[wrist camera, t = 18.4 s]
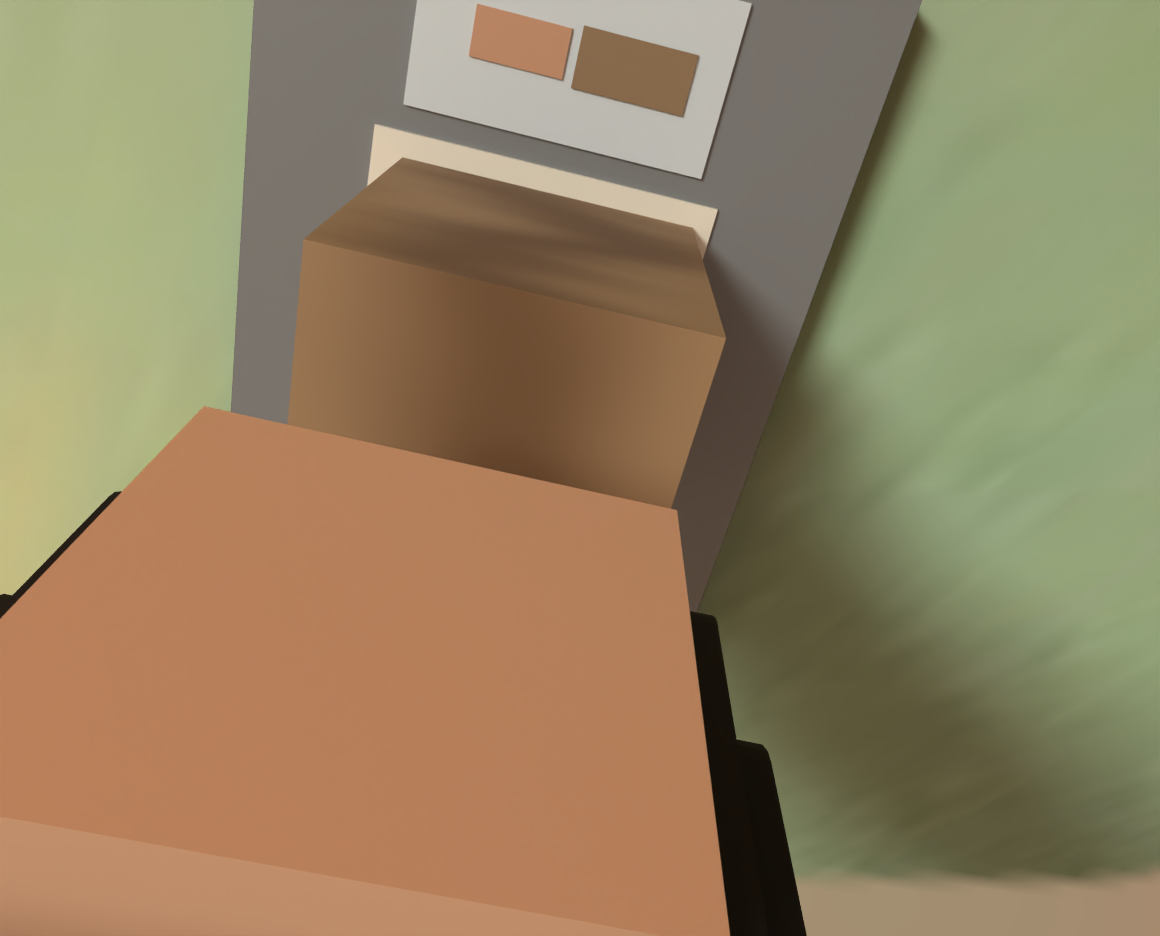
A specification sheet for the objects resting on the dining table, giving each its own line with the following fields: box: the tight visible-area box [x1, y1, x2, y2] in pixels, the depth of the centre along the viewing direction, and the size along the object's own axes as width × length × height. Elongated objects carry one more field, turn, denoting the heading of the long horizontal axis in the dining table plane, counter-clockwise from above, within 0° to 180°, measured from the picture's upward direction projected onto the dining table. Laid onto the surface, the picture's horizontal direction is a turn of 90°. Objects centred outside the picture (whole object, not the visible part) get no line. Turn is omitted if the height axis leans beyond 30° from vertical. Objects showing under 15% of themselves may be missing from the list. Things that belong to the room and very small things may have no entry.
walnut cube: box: [288, 157, 726, 509], centre depth 17 cm, size 6×6×6 cm
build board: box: [231, 0, 922, 612], centre depth 20 cm, size 12×16×1 cm
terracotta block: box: [0, 406, 730, 936], centre depth 8 cm, size 5×5×5 cm
